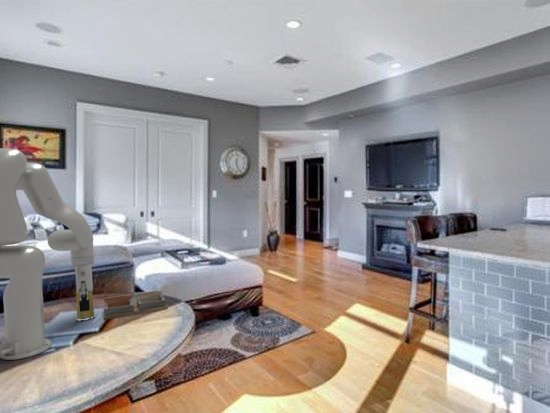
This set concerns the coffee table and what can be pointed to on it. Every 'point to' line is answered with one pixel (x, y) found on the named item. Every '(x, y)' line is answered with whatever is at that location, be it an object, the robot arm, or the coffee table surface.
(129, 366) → the coffee table surface
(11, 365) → the coffee table surface
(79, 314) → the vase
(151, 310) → the socket board
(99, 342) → the coffee table surface
